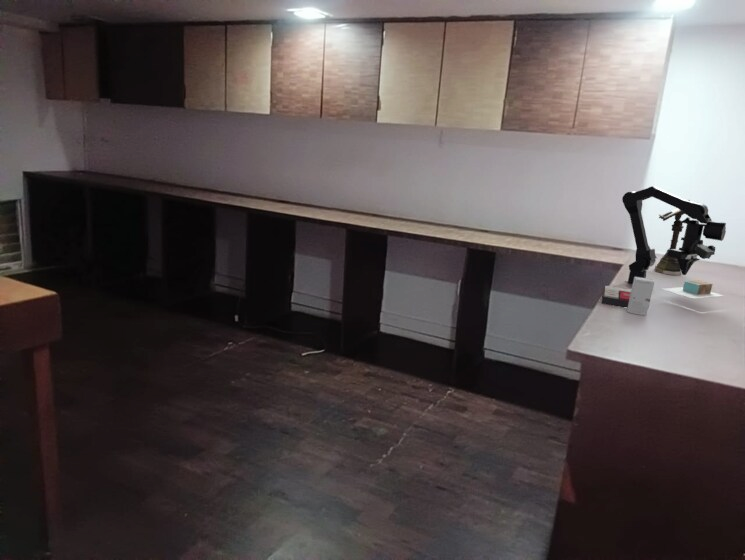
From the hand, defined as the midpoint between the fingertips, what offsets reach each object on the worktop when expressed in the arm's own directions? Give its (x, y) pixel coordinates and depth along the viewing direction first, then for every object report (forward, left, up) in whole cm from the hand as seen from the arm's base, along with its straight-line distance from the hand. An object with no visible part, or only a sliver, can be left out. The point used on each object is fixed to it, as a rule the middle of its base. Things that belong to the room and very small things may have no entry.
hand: (683, 274), depth 226 cm
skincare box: (-42, -14, -8) cm, 45 cm away
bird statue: (+32, +32, -8) cm, 46 cm away
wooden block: (+6, 0, -6) cm, 8 cm away
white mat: (+8, 0, -8) cm, 11 cm away
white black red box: (-37, -2, -9) cm, 38 cm away
